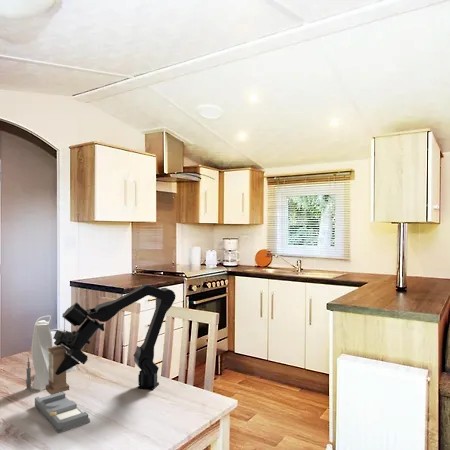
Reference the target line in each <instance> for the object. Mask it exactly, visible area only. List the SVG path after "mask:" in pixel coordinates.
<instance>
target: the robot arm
mask: <svg viewBox="0 0 450 450" xmlns="http://www.w3.org/2000/svg"><path fill="white" fill-rule="evenodd" d="M147 296H149V297H153V298H155V310H154V313H153V315H152V318H151V320H150V324H149V326H148V329H147V332H146V335H145V338H144V341H143V343H142V344H141V345H140V346H139V345H136V349H135V352H134V354H133V355H132V356H133V361H134V363H135V364H136V366H137V367H138V368H139V370H140V371H139V373H138V374H137V375H138V381H137V383H138V386H137V389H138V390H149V391H153V390H154V389H156V387H158V386H159V384H160V382H159V381H158V372H159V366H158V365H157V364H156V363H155V362H154V359H155V345H156V344H157V343H156V342H157V340H158V337H159V335H160V331H161V329H162V326H163V323H164V320H165V317H166V315H167V312H168V311H169V310H170V309H171V307H172V306H173V304H174V302H175V300H176V293H175V292H174V290H172V289H169V288H167V287H161V288H160V287H156V286H153V285H150V284H148V283H144V284H142V285H141V286H139V287H138V288H136V289H133V290H132V291H129V292H128V293H126V294H124V295H122V296H120V297H118V298H116V299H114V300H109V301H106V302H103V303H100V304H98V305H96V306H95V307H93V308H89V309H85V308H83V306H81V304H79V303H78V302H77V301H76V302H75V303H74V304H72V305H70V307H68V308H67V309H66V310H65V311H64V312H63V313H64V314H63V313H62V315H63V316H62V318H63V319H64V318H65V321H67V322H68V323H69V324H70V325H72V326H74V327H76V326H77V327H78V326H79V327H78V328H77V329H76V330H72V331H68V330H65V332H64V330H63V331H62V330H60V329H56V330H55V333H54V334H53V337H52V340H54V342H53V344H54V345H55V346H58V345H61V346H62V347H64V348H65V349H66V353H65V359H64V360H63V362H62V363H61V365H60V366H59V368H58V369H57V371H56V373H55V374H56V375H59V374H61V373H62V372H64V371H66V370H68V369H70V368H72V367H74V366H76V367H77V366H78V365H80V364H83V365H85V364H86V363H87V361H88V358H89V357H88V355H87V354H85V352H83V351H82V350H83V349H84V347H85V346H86V345H89V344H91V341H90V340H91V338H92V337H94V336H95V334H96V332H97V331H101V332H105V327H104V326H105V324H104V323H105V322H108V321H110V320H111V319H112V318H114V317H115V316H116V315H117V314H118V313H119V312H120V311H121V310H123V309H125V308H127V307H128V306H131V305H132V304H134V303H136V302H139V300H142V299H144V298H145V297H147ZM100 322H101V323H100ZM55 339H56V340H55ZM68 354H69V355H68Z"/></svg>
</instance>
